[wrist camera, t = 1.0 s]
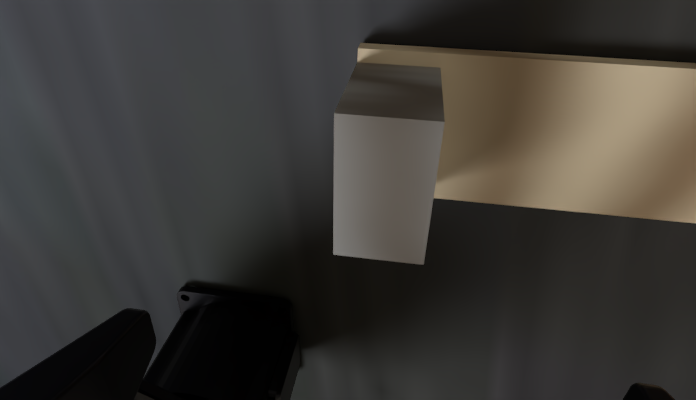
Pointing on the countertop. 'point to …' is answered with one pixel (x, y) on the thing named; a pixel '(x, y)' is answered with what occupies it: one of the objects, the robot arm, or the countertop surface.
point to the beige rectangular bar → (506, 140)
